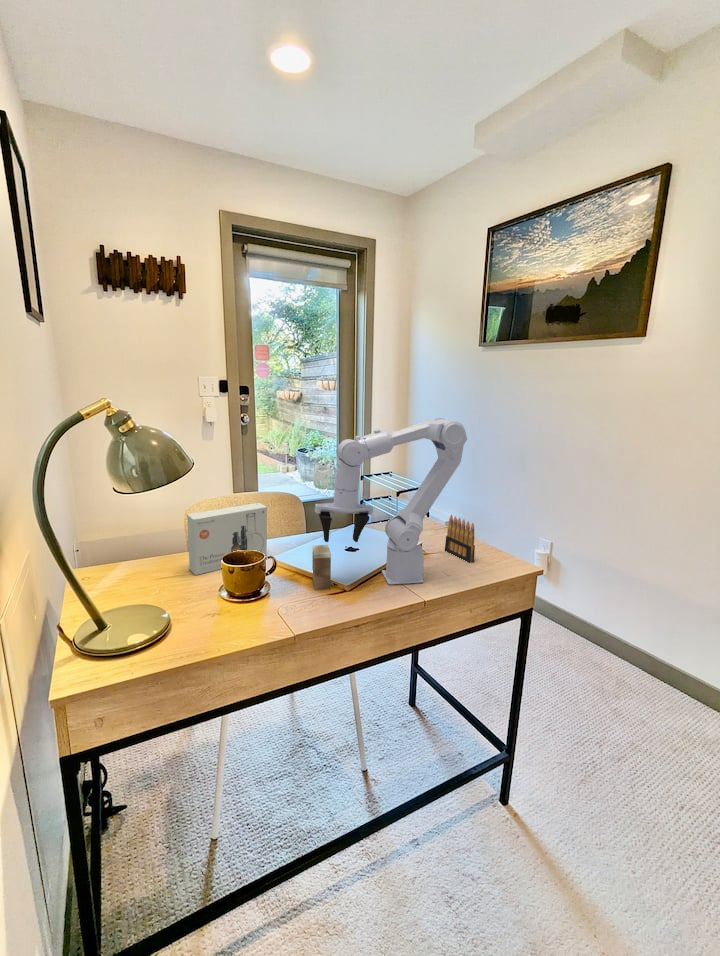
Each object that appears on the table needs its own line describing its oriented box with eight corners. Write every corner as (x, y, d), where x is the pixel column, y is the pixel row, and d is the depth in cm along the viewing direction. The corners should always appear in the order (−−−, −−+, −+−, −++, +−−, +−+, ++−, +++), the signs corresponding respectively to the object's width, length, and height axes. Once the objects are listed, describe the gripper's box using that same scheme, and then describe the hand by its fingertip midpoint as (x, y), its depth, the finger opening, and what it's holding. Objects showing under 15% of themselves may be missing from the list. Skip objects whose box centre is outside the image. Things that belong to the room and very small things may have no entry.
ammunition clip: (444, 550, 138) (447, 514, 135) (448, 549, 139) (451, 513, 136) (469, 563, 129) (473, 524, 126) (474, 562, 130) (477, 523, 127)
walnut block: (327, 578, 117) (328, 544, 114) (330, 589, 111) (330, 553, 109) (312, 579, 116) (312, 545, 114) (314, 590, 110) (314, 554, 108)
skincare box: (195, 577, 116) (192, 519, 112) (188, 569, 120) (185, 513, 116) (268, 558, 129) (267, 505, 125) (259, 552, 133) (258, 501, 129)
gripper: (369, 485, 115) (362, 535, 118) (314, 483, 110) (309, 535, 113) (378, 492, 108) (371, 545, 111) (320, 490, 104) (315, 545, 106)
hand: (340, 540), depth 112 cm, fingers open, 7 cm apart
